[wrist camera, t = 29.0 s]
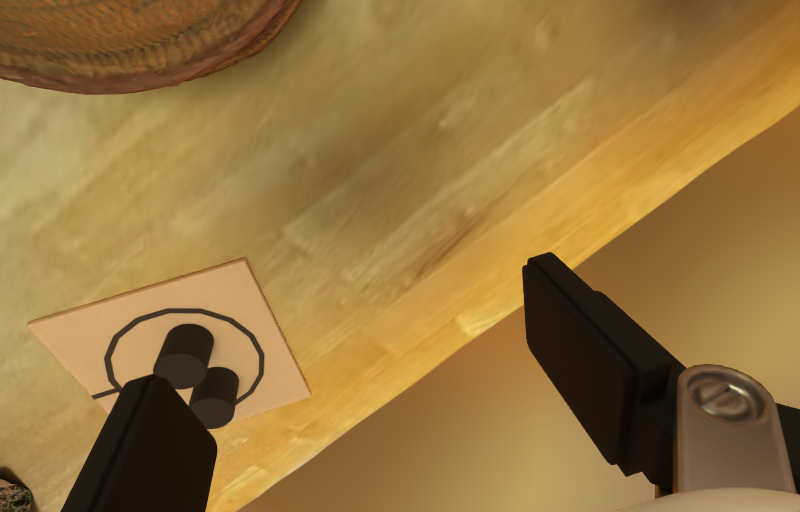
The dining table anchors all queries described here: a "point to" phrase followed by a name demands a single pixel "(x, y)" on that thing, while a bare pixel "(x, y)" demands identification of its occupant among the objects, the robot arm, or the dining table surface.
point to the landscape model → (14, 498)
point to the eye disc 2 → (215, 397)
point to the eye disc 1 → (185, 356)
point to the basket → (131, 41)
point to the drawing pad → (165, 309)
